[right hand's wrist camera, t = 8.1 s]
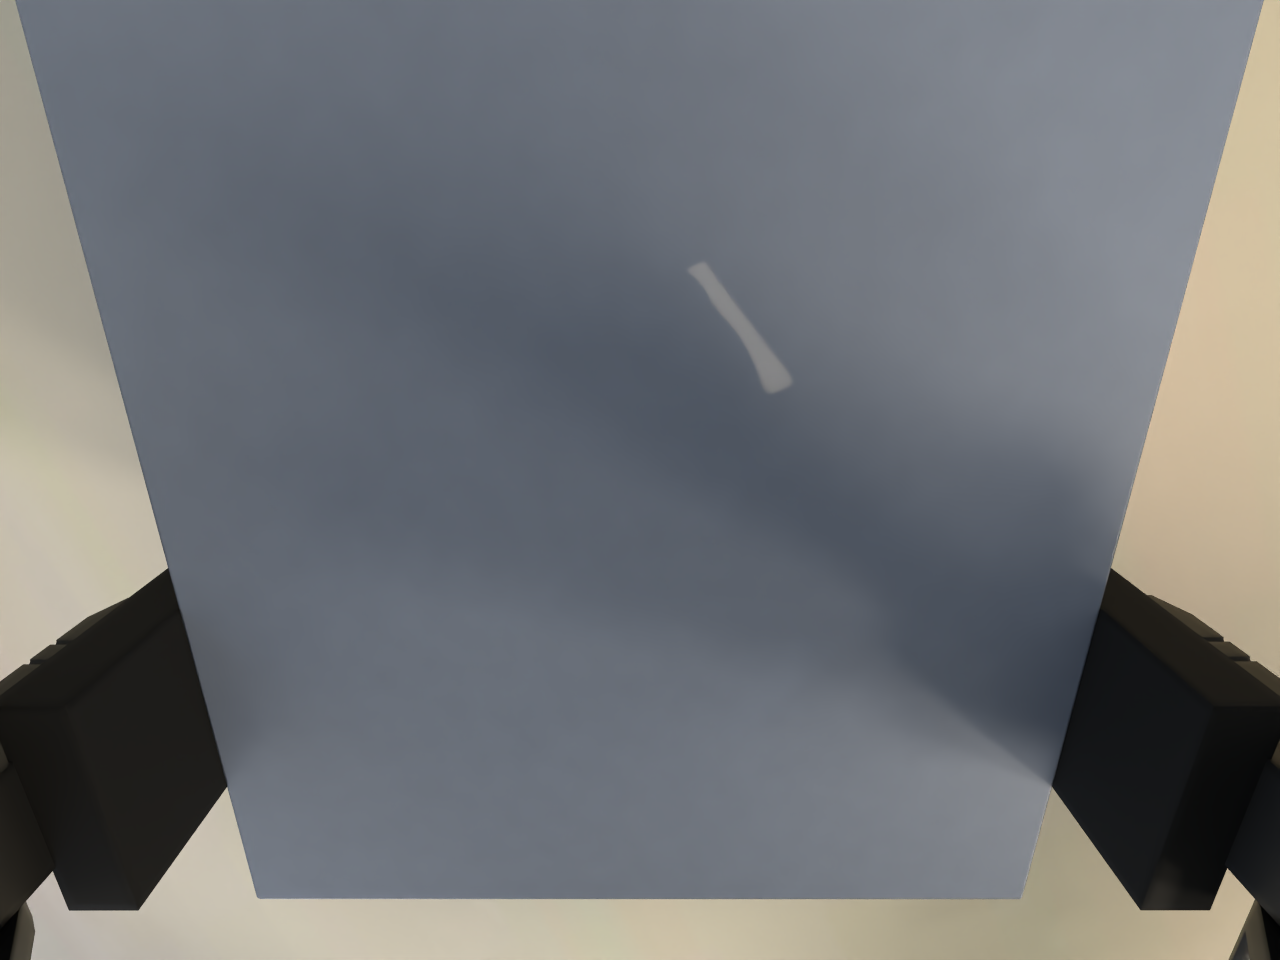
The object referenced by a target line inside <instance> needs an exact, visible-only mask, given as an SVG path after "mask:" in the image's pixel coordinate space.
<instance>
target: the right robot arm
mask: <svg viewBox="0 0 1280 960" xmlns="http://www.w3.org/2000/svg"><path fill="white" fill-rule="evenodd" d="M56 641H57V643H56V645H49V646H48V647H46V648H45V649H44V650H42V651H41V652H40V653H38V654H37V655H36V656H34V657H33V658H32V659H30V664H23V665H22V666H21V667H19V668H18V669H17V670H15V671H14V672H12V673H11V674H10V675H8V676H7V677H6V678H4V679H3V680H2V681H0V960H30V959H31V953H32V947H33V941H34V935H35V929H34V923H33V917H32V914H31V912H30V910H29V908H28V905H27V903H26V900H27V899H28V898H29V897H30V896H31V895H32V894H33V892H34V891H35V890H36V889H37V888H38V887H39V886H40V885H41V884H42V882H43V881H44V880H45V879H46V878H47V877H48V876H49V875H50V873H51V872H52V871H53V872H54V875H55V877H56V880H57V882H58V885H59V887H60V890H61V892H62V894H63V897H64V899H65V902H66V904H67V907H68V909H69V910H139V909H140V907H141V906H142V905H143V903H144V902H145V900H146V899H147V898H148V896H149V895H150V893H151V892H152V891H153V889H154V888H155V886H156V885H157V884H158V882H159V881H160V880H161V878H162V877H163V875H164V874H165V873H166V871H167V870H168V868H169V867H170V866H171V864H172V863H173V861H174V860H175V859H176V857H177V856H178V854H179V853H180V852H181V850H182V849H183V847H184V846H185V845H186V843H187V842H188V840H189V839H190V838H191V836H192V835H193V833H194V832H195V831H196V829H197V828H198V826H199V825H200V824H201V822H202V821H203V820H204V818H205V817H206V815H207V814H208V813H209V811H210V810H211V808H212V807H213V806H214V804H215V803H216V801H217V800H218V799H219V797H220V796H221V794H222V793H223V792H224V790H225V789H226V787H227V783H226V780H225V776H224V772H223V769H222V765H221V761H220V757H219V754H218V750H217V746H216V743H215V739H214V735H213V731H212V728H211V724H210V720H209V717H208V713H207V709H206V706H205V702H204V698H203V694H202V691H201V687H200V683H199V680H198V676H197V672H196V668H195V665H194V661H193V657H192V654H191V650H190V646H189V642H188V639H187V635H186V631H185V628H184V624H183V620H182V617H181V613H180V609H179V605H178V602H177V598H176V594H175V591H174V587H173V583H172V579H171V576H170V572H169V568H168V569H166V570H165V571H164V572H162V573H161V574H160V575H158V576H157V577H156V578H155V579H153V580H152V581H151V582H149V583H148V584H147V585H145V586H144V587H143V588H141V589H140V590H139V591H137V592H136V593H135V594H133V595H132V596H131V597H129V598H127V599H125V600H123V601H121V602H119V603H117V604H114V605H112V606H110V607H108V608H106V609H104V610H102V611H100V612H98V613H96V614H93V615H91V616H89V617H87V618H86V619H85V620H83V621H82V622H80V623H79V624H78V625H76V626H75V627H74V628H72V629H71V630H70V631H68V632H67V633H66V634H64V635H63V636H61V637H60V638H59V639H57V640H56ZM1052 787H1053V788H1054V790H1055V791H1056V793H1057V794H1058V795H1059V797H1060V798H1061V800H1062V801H1063V802H1064V804H1065V805H1066V807H1067V808H1068V809H1069V811H1070V812H1071V814H1072V815H1073V816H1074V818H1075V819H1076V821H1077V822H1078V823H1079V825H1080V826H1081V828H1082V829H1083V830H1084V832H1085V833H1086V835H1087V836H1088V837H1089V839H1090V840H1091V842H1092V843H1093V844H1094V846H1095V847H1096V849H1097V850H1098V851H1099V853H1100V854H1101V855H1102V857H1103V858H1104V860H1105V861H1106V862H1107V864H1108V865H1109V867H1110V868H1111V869H1112V871H1113V872H1114V874H1115V875H1116V876H1117V878H1118V879H1119V881H1120V882H1121V883H1122V885H1123V886H1124V888H1125V889H1126V890H1127V892H1128V893H1129V895H1130V896H1131V897H1132V899H1133V900H1134V902H1135V903H1136V904H1137V906H1138V907H1139V909H1140V910H1210V909H1211V906H1212V904H1213V902H1214V899H1215V897H1216V894H1217V892H1218V889H1219V887H1220V884H1221V882H1222V880H1223V877H1224V875H1225V872H1226V870H1227V868H1228V869H1229V870H1230V871H1231V872H1232V874H1233V875H1234V876H1235V877H1236V878H1237V879H1238V880H1239V881H1240V882H1241V884H1242V885H1243V886H1244V887H1245V888H1246V889H1247V890H1248V891H1249V893H1250V894H1251V895H1252V896H1253V897H1254V898H1255V901H1254V903H1253V905H1252V908H1251V910H1250V912H1249V914H1248V917H1247V919H1246V921H1245V924H1244V926H1243V928H1242V930H1241V933H1240V935H1239V937H1238V940H1237V942H1236V944H1235V946H1234V949H1233V951H1232V953H1231V956H1230V958H1229V960H1280V678H1279V677H1277V676H1276V675H1274V674H1273V673H1272V672H1270V671H1269V670H1268V669H1266V668H1265V667H1263V666H1262V665H1261V664H1259V663H1258V662H1257V661H1250V656H1248V655H1247V654H1246V653H1244V652H1243V651H1242V650H1240V649H1239V648H1237V647H1236V646H1235V645H1233V644H1232V643H1231V642H1224V640H1223V637H1222V636H1221V635H1220V634H1218V633H1217V632H1216V631H1214V630H1213V629H1211V628H1210V627H1209V626H1207V625H1206V624H1205V623H1203V622H1202V621H1200V620H1199V619H1198V618H1196V617H1195V616H1194V615H1192V614H1190V613H1188V612H1186V611H1184V610H1182V609H1180V608H1177V607H1175V606H1173V605H1171V604H1169V603H1167V602H1165V601H1163V600H1160V599H1158V598H1156V597H1154V596H1152V595H1146V594H1144V593H1143V592H1142V591H1140V590H1139V589H1138V588H1137V587H1135V586H1134V585H1133V584H1131V583H1130V582H1129V581H1127V580H1126V579H1125V578H1123V577H1122V576H1121V575H1119V574H1118V573H1117V572H1115V571H1114V570H1113V569H1110V573H1109V576H1108V580H1107V584H1106V587H1105V591H1104V595H1103V599H1102V602H1101V606H1100V610H1099V613H1098V617H1097V621H1096V625H1095V628H1094V632H1093V636H1092V639H1091V643H1090V647H1089V651H1088V654H1087V658H1086V662H1085V665H1084V669H1083V673H1082V677H1081V680H1080V684H1079V688H1078V691H1077V695H1076V699H1075V702H1074V706H1073V710H1072V714H1071V717H1070V721H1069V725H1068V728H1067V732H1066V736H1065V740H1064V743H1063V747H1062V751H1061V754H1060V758H1059V762H1058V766H1057V769H1056V773H1055V777H1054V780H1053V784H1052Z"/></svg>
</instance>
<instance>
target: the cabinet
mask: <svg viewBox="0 0 1280 960" xmlns="http://www.w3.org/2000/svg"><path fill="white" fill-rule="evenodd" d="M15 1H16V5H17V8H18V12H19V16H20V19H21V23H22V27H23V31H24V34H25V38H26V42H27V45H28V49H29V53H30V57H31V60H32V64H33V68H34V71H35V75H36V79H37V83H38V86H39V90H40V94H41V97H42V101H43V105H44V108H45V112H46V116H47V120H48V123H49V127H50V131H51V134H52V138H53V142H54V146H55V149H56V153H57V157H58V160H59V164H60V168H61V172H62V175H63V179H64V183H65V186H66V190H67V194H68V197H69V201H70V205H71V209H72V212H73V216H74V220H75V223H76V227H77V231H78V235H79V238H80V242H81V246H82V249H83V253H84V257H85V261H86V264H87V268H88V272H89V275H90V279H91V283H92V286H93V290H94V294H95V298H96V301H97V305H98V309H99V312H100V316H101V320H102V324H103V327H104V331H105V335H106V338H107V342H108V346H109V350H110V353H111V357H112V361H113V364H114V368H115V372H116V375H117V379H118V383H119V387H120V390H121V394H122V398H123V401H124V405H125V409H126V413H127V416H128V420H129V424H130V427H131V431H132V435H133V439H134V442H135V446H136V450H137V453H138V457H139V461H140V464H141V468H142V472H143V476H144V479H145V483H146V487H147V490H148V494H149V498H150V502H151V505H152V509H153V513H154V516H155V520H156V524H157V528H158V531H159V535H160V539H161V542H162V546H163V550H164V553H165V557H166V561H167V565H168V568H169V572H170V576H171V579H172V583H173V587H174V591H175V594H176V598H177V602H178V605H179V609H180V613H181V617H182V620H183V624H184V628H185V631H186V635H187V639H188V642H189V646H190V650H191V654H192V657H193V661H194V665H195V668H196V672H197V676H198V680H199V683H200V687H201V691H202V694H203V698H204V702H205V706H206V709H207V713H208V717H209V720H210V724H211V728H212V731H213V735H214V739H215V743H216V746H217V750H218V754H219V757H220V761H221V765H222V769H223V772H224V776H225V780H226V783H227V787H228V791H229V795H230V798H231V802H232V806H233V809H234V813H235V817H236V820H237V824H238V828H239V832H240V835H241V839H242V843H243V846H244V850H245V854H246V858H247V861H248V865H249V869H250V872H251V876H252V880H253V884H254V887H255V891H256V895H257V897H258V898H259V899H1020V898H1022V896H1023V892H1024V888H1025V884H1026V881H1027V877H1028V873H1029V870H1030V866H1031V862H1032V858H1033V855H1034V851H1035V847H1036V844H1037V840H1038V836H1039V832H1040V829H1041V825H1042V821H1043V818H1044V814H1045V810H1046V806H1047V803H1048V799H1049V795H1050V792H1051V788H1052V784H1053V780H1054V777H1055V773H1056V769H1057V766H1058V762H1059V758H1060V754H1061V751H1062V747H1063V743H1064V740H1065V736H1066V732H1067V728H1068V725H1069V721H1070V717H1071V714H1072V710H1073V706H1074V702H1075V699H1076V695H1077V691H1078V688H1079V684H1080V680H1081V677H1082V673H1083V669H1084V665H1085V662H1086V658H1087V654H1088V651H1089V647H1090V643H1091V639H1092V636H1093V632H1094V628H1095V625H1096V621H1097V617H1098V613H1099V610H1100V606H1101V602H1102V599H1103V595H1104V591H1105V587H1106V584H1107V580H1108V576H1109V573H1110V569H1111V565H1112V561H1113V558H1114V554H1115V550H1116V547H1117V543H1118V539H1119V535H1120V532H1121V528H1122V524H1123V521H1124V517H1125V513H1126V509H1127V506H1128V502H1129V498H1130V495H1131V491H1132V487H1133V483H1134V480H1135V476H1136V472H1137V469H1138V465H1139V461H1140V457H1141V454H1142V450H1143V446H1144V443H1145V439H1146V435H1147V431H1148V428H1149V424H1150V420H1151V417H1152V413H1153V409H1154V405H1155V402H1156V398H1157V394H1158V391H1159V387H1160V383H1161V380H1162V376H1163V372H1164V368H1165V365H1166V361H1167V357H1168V354H1169V350H1170V346H1171V342H1172V339H1173V335H1174V331H1175V328H1176V324H1177V320H1178V316H1179V313H1180V309H1181V305H1182V302H1183V298H1184V294H1185V290H1186V287H1187V283H1188V279H1189V276H1190V272H1191V268H1192V264H1193V261H1194V257H1195V253H1196V250H1197V246H1198V242H1199V238H1200V235H1201V231H1202V227H1203V224H1204V220H1205V216H1206V212H1207V209H1208V205H1209V201H1210V198H1211V194H1212V190H1213V186H1214V183H1215V179H1216V175H1217V172H1218V168H1219V164H1220V160H1221V157H1222V153H1223V149H1224V146H1225V142H1226V138H1227V134H1228V131H1229V127H1230V123H1231V120H1232V116H1233V112H1234V109H1235V105H1236V101H1237V97H1238V94H1239V90H1240V86H1241V83H1242V79H1243V75H1244V71H1245V68H1246V64H1247V60H1248V57H1249V53H1250V49H1251V45H1252V42H1253V38H1254V34H1255V31H1256V27H1257V23H1258V19H1259V16H1260V12H1261V8H1262V5H1263V1H1264V0H15Z"/></svg>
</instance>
